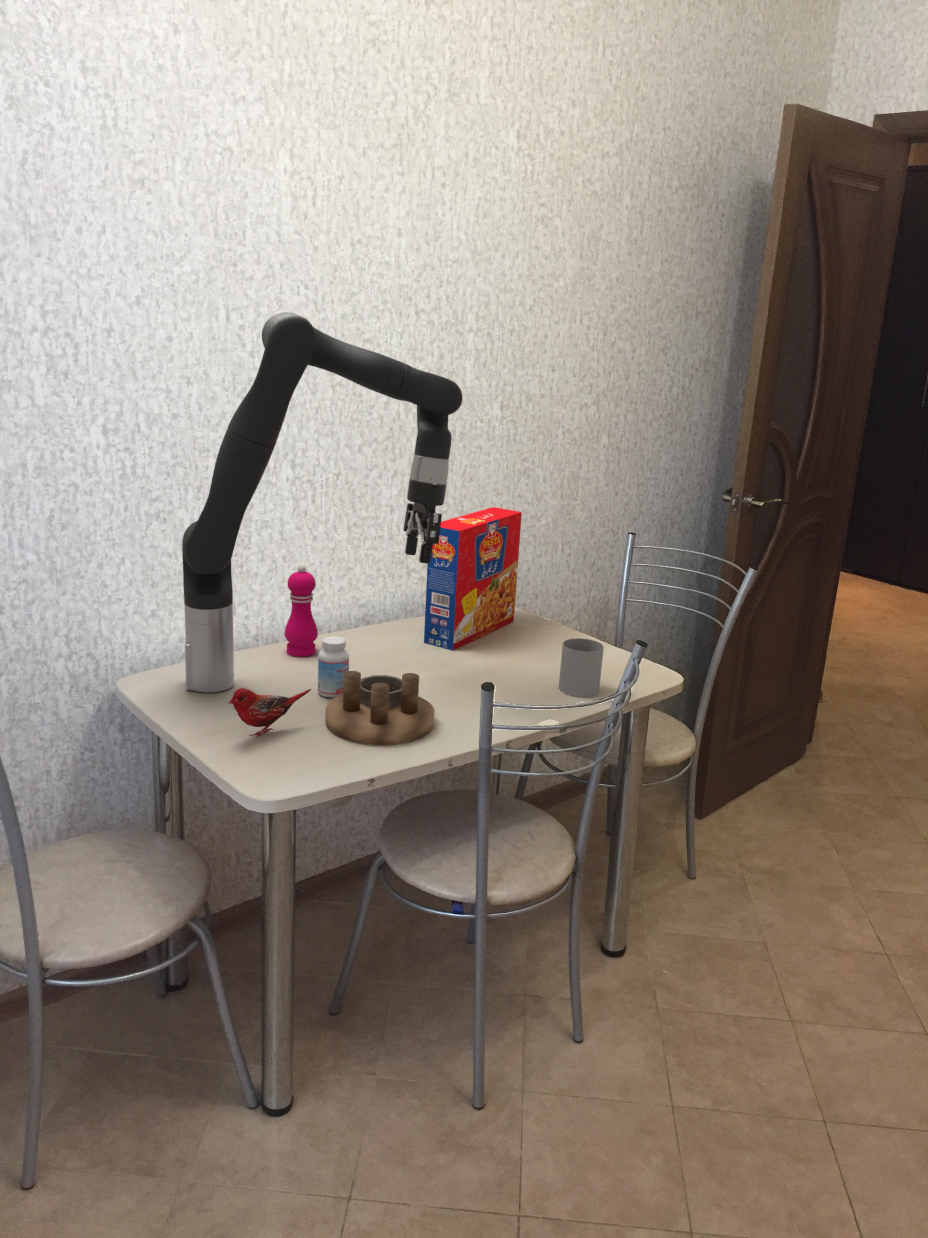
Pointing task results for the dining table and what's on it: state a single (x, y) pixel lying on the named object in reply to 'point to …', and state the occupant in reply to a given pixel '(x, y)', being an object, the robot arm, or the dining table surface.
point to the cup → (580, 667)
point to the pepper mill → (301, 615)
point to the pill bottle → (332, 666)
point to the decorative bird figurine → (261, 707)
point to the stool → (380, 710)
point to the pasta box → (472, 577)
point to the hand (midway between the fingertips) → (417, 558)
